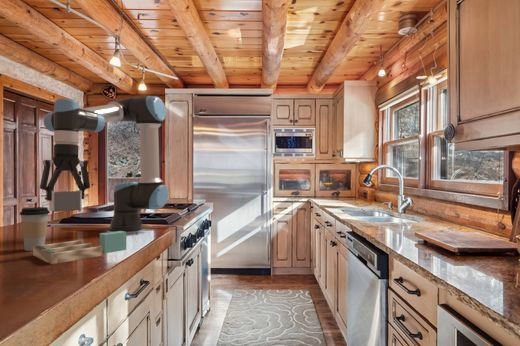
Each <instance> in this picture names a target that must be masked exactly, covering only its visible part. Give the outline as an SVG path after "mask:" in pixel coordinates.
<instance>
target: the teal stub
mask: <svg viewBox="0 0 520 346" xmlns="http://www.w3.org/2000/svg"><path fill="white" fill-rule="evenodd" d="M98 244H99V246H102V247H103V254H110V253H116V252H121V251H127V231H110V232H101V233H99V243H98Z"/></svg>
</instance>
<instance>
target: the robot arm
mask: <svg viewBox="0 0 520 346" xmlns="http://www.w3.org/2000/svg"><path fill="white" fill-rule="evenodd" d="M165 105H166V104H165V103H164V101H163V100H162V99H161V98H160V97H159V96H155V95H153V96H152V95H145V96H135V97H126V98H122V99H119V100H113V101H110V102H108V103H107V104H104V105H97V106H91V107H85V108H84V107H83V108H80V103H79V101H77V100H76V99H72V98H57V99H56V100H55V101H54V105H53V112H48V113H46V115H44V117H43V125H44V128H45V129H46V130H47V131H49V132H52V133H53V142H54V143H55V144H54V145H53V158H52V159H43V161H42V164H43V170H42V175H41V180H40V184H39V189H40V190H43V191H45V193H46V194H45V195H46V197H45V200H46V201H47V202H49V203H48V204H49V206H48V207H49V208H48V210H49V211H50V212H53V211H55V192H56V191H54V190H53V189H54V187H55V185H56V183H57V181H58V179H59V177H60V176H61V173H62V172H65V171H67V172H70V174H71V175H72V178H73V180H74V181H75V184H76V185H77V188H78V190H75V191H80V210H82V209H83V206H82V205H83V202H82V201H83V200H84V199H85V191H86V190H87V189H90V187H91V184H90V183H91V182H90V179H89V178H90V177H89V173H88V172H89V171H88V163H89V162H88V161H87V160H80V159H79V145H78V144H80V142H79V141H80V140H79V138H80V137H79V136H80V135H79V132H91V133H98V132H101V131H102V130H104V127H105V125H106V123H109V122H113V123H119V122H133V123H135V125H136V126H137V127H138V129H139V150H140V151H139V154H140V157H139V158H140V179H139V180H138V181H132V182H130V181H129V182H123V183H117V184H115V185H114V189H113V217H112V219H111V222H110V224H109V231H110V232H116V231H124V232H133V231H134V232H135V231H140V230H143V222H142V218H141V216H140V209H141V210H146V209H147V210H160V209H162V208H164V207H165V205H166V203H168V199H169V198H168V197H169V190H168V187H167V186H166V185H164V181H163V180H162V179H161V177H160V145H159V143H160V142H159V128H160V127H162V122H163V121H164V120H165V119H166V117H167V110H166V109H167V108H166V106H165ZM53 164H54V166H55V168H54V171H53V173H52V175H51V177H50V173H51V166H52V165H53ZM78 165H79V166H80V173H81V176H80V174H79V171H78V168H77V166H78ZM49 177H50V179H49Z"/></svg>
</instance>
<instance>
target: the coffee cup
mask: <svg viewBox="0 0 520 346" xmlns="http://www.w3.org/2000/svg"><path fill="white" fill-rule="evenodd" d="M50 213H51V211H50V210H49V208H48V207H45V206H35V207H22V208H21V211H19V214H18V215H20V223H21V234H22V239H23V245H24V251H26V252H33V246H40V245H46V243H45V242H46V236H47V232H48V223H49V222H48V221H49V214H50Z"/></svg>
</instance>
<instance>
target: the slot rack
mask: <svg viewBox="0 0 520 346" xmlns="http://www.w3.org/2000/svg"><path fill="white" fill-rule="evenodd" d="M103 254H104V253H103V247H102V246H94V247H93V243H92V242H87V243H84V241H83V240H82V239H79V240H77V239H76V240H71V241H64V242H56V243H50V244H49V243H48V244H45V245H40V246H33V251H32V256H34V257H36V258H38V259H39V260H42V261H44V262H46V263H48V264H50V265H56V264H57V265H58V264H61V263H66V262H67V263H68V262H74V261H79V260H84V259H91V258H96V257H97V258H98V257H102V256H103Z"/></svg>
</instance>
